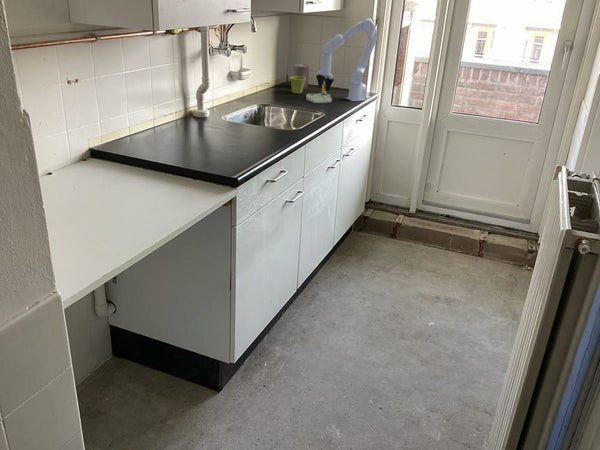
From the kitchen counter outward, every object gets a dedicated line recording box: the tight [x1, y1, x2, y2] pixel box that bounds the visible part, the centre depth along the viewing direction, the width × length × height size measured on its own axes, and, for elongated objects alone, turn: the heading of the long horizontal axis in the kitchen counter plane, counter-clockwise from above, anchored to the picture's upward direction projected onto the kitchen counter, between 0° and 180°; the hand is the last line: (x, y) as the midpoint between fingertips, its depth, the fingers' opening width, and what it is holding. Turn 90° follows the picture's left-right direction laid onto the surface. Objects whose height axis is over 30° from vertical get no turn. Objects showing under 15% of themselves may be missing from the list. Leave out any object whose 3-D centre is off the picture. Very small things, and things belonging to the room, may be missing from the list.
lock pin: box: [321, 83, 327, 95], centre depth 307 cm, size 3×3×7 cm
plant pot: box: [289, 76, 306, 95], centre depth 314 cm, size 9×9×9 cm
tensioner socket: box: [316, 92, 332, 99], centre depth 309 cm, size 6×6×2 cm
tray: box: [305, 94, 333, 104], centre depth 298 cm, size 11×9×2 cm
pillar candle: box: [292, 63, 310, 90], centre depth 327 cm, size 10×10×15 cm
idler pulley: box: [305, 93, 317, 96], centre depth 306 cm, size 7×7×2 cm
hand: (323, 89), depth 307 cm, fingers open, 7 cm apart
